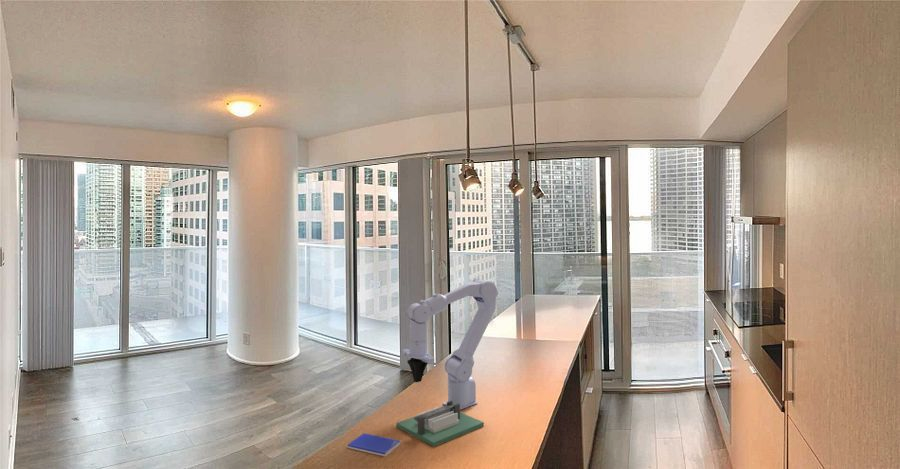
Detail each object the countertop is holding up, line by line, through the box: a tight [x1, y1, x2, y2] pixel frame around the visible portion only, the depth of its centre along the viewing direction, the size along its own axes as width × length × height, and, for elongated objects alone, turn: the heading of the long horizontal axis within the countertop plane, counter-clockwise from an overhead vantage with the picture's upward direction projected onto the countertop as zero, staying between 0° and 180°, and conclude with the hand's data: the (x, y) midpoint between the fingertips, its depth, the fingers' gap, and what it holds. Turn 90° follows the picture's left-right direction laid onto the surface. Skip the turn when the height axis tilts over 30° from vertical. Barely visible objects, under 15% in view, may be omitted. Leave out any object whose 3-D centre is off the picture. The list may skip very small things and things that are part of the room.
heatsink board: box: [395, 401, 485, 447], centre depth 147 cm, size 20×18×6 cm
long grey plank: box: [413, 404, 454, 421], centre depth 146 cm, size 15×2×1 cm, turn 132°
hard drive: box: [347, 433, 402, 457], centre depth 135 cm, size 2×8×12 cm
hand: (417, 381), depth 157 cm, fingers closed
